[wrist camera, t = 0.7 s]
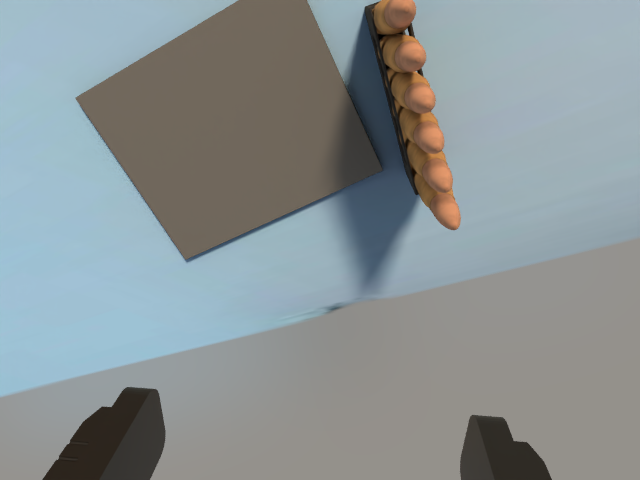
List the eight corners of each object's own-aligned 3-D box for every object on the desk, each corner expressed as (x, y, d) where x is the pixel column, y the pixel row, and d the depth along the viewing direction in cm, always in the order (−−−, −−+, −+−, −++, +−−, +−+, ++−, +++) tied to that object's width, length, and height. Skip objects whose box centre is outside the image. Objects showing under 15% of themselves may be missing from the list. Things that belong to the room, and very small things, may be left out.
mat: (293, -30, 26) (291, -32, 25) (382, 167, 30) (382, 170, 30) (80, 96, 30) (75, 97, 29) (187, 256, 34) (185, 259, 34)
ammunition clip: (363, 7, 27) (374, -10, 16) (394, -4, 26) (427, -30, 15) (406, 174, 31) (438, 252, 20) (433, 166, 30) (481, 241, 19)
